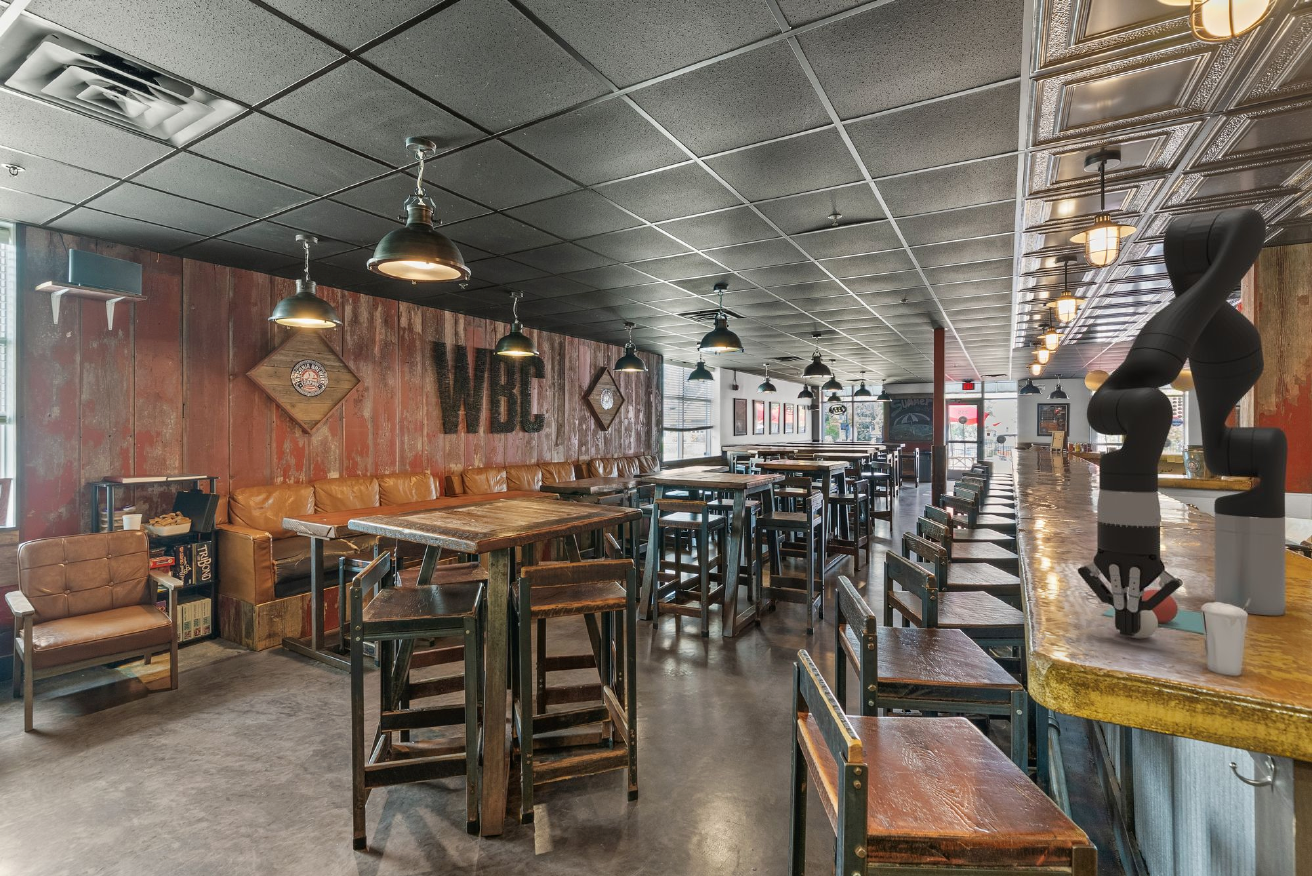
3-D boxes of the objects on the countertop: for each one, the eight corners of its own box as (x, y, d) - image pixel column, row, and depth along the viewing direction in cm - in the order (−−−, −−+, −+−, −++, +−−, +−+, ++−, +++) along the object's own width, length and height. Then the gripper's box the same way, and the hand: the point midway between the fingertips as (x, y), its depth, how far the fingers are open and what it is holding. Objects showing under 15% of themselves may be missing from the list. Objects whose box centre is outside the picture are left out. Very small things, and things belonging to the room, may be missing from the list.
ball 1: (1110, 612, 93) (1114, 642, 94) (1156, 616, 90) (1159, 648, 91) (1111, 593, 97) (1115, 622, 98) (1155, 596, 94) (1158, 627, 95)
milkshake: (1264, 679, 78) (1264, 602, 78) (1216, 676, 79) (1216, 600, 79) (1238, 666, 82) (1237, 593, 82) (1192, 663, 83) (1192, 591, 83)
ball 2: (1132, 607, 101) (1138, 628, 103) (1175, 610, 97) (1180, 631, 99) (1132, 581, 104) (1138, 602, 106) (1174, 583, 100) (1179, 605, 102)
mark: (1124, 601, 115) (1124, 600, 115) (1224, 618, 104) (1224, 617, 104) (1102, 615, 106) (1102, 613, 106) (1209, 635, 95) (1209, 633, 95)
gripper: (1068, 517, 94) (1068, 628, 94) (1179, 527, 83) (1179, 651, 83) (1084, 514, 98) (1084, 619, 98) (1190, 522, 88) (1190, 640, 88)
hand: (1128, 634), depth 91 cm, fingers closed
